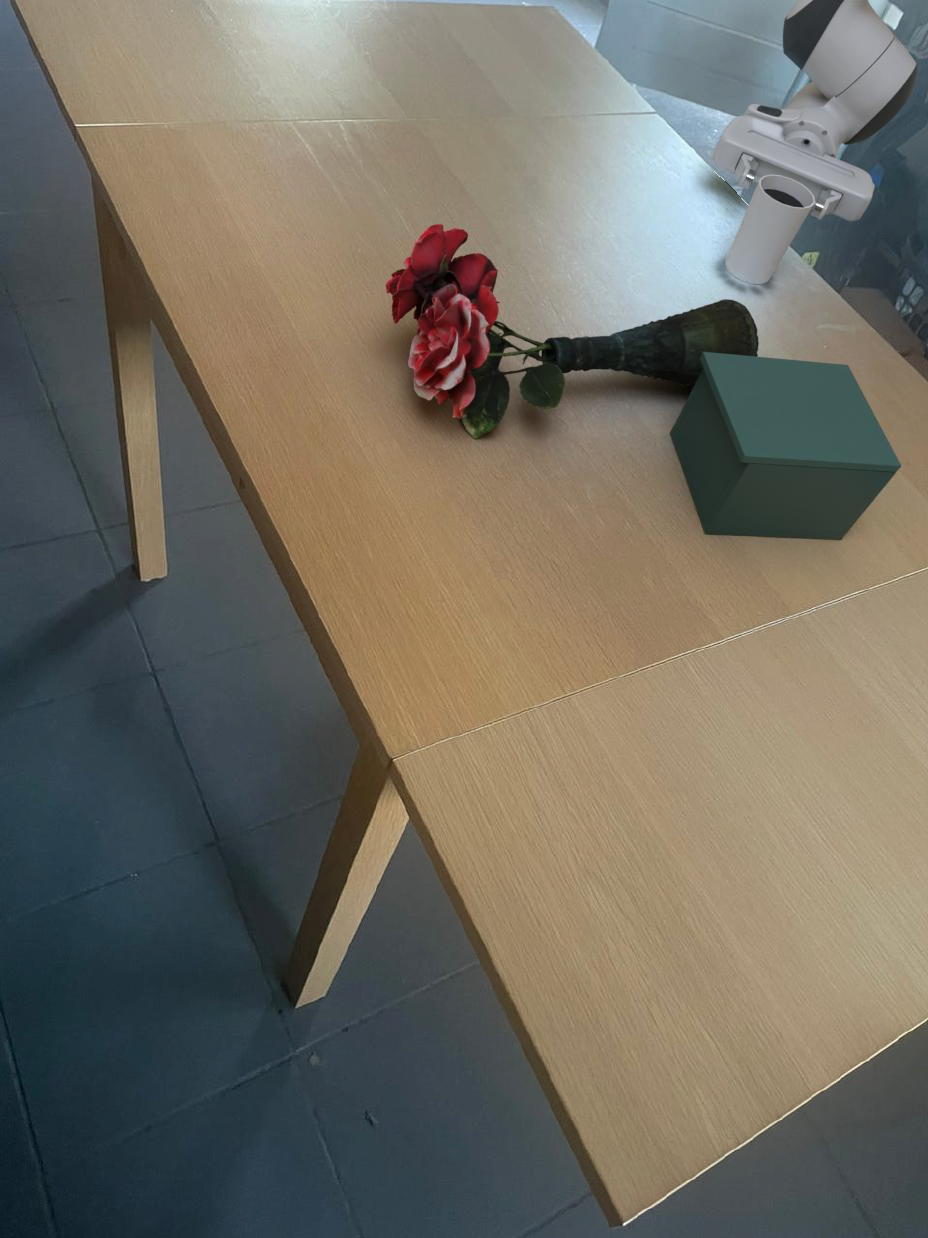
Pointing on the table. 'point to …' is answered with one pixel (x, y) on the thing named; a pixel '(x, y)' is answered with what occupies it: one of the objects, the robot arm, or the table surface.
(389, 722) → the table surface
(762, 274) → the white cup
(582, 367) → the vase with roses
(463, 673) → the table surface
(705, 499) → the chest
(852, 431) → the lid
